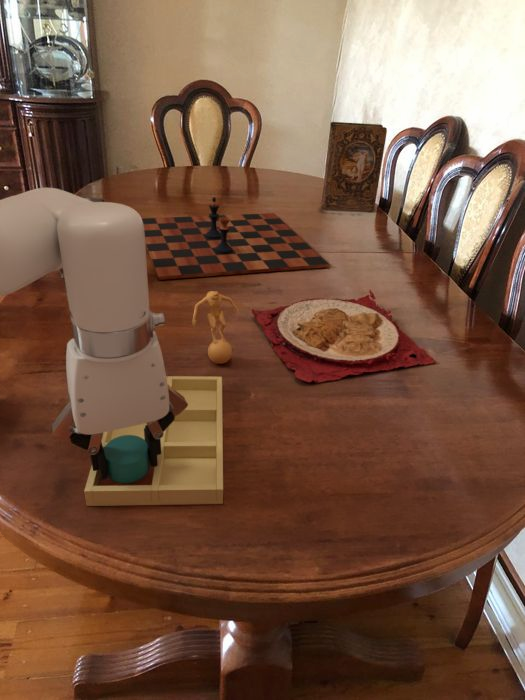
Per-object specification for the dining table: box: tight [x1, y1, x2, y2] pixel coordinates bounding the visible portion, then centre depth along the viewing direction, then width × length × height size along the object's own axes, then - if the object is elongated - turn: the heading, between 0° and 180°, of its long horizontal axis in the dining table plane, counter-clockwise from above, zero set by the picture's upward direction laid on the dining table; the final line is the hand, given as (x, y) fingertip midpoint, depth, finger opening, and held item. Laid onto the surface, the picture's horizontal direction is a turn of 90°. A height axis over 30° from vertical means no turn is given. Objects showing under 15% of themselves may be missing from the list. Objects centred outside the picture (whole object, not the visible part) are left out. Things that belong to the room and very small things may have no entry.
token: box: [104, 435, 149, 483], centre depth 61 cm, size 5×5×3 cm
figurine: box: [191, 290, 241, 365], centre depth 84 cm, size 8×6×12 cm
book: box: [320, 121, 388, 213], centre depth 161 cm, size 16×6×25 cm, turn 92°
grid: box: [83, 375, 224, 507], centre depth 69 cm, size 15×23×2 cm
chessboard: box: [141, 197, 330, 281], centre depth 131 cm, size 40×40×11 cm
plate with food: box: [251, 289, 437, 384], centre depth 94 cm, size 24×26×4 cm
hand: (127, 463), depth 62 cm, fingers closed on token, 5 cm apart
